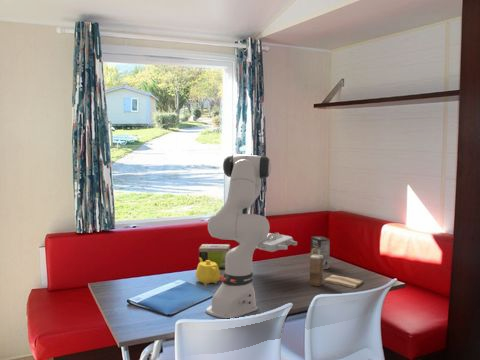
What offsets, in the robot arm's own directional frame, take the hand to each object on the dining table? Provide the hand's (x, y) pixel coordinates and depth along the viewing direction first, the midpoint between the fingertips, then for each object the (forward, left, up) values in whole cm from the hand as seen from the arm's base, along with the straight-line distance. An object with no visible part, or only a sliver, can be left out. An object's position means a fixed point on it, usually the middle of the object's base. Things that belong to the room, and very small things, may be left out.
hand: (291, 245), depth 234 cm
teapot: (-27, +31, -17) cm, 45 cm away
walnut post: (0, -14, -17) cm, 22 cm away
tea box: (-15, +36, -17) cm, 43 cm away
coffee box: (+28, -2, -17) cm, 33 cm away
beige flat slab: (+11, -23, -17) cm, 30 cm away
